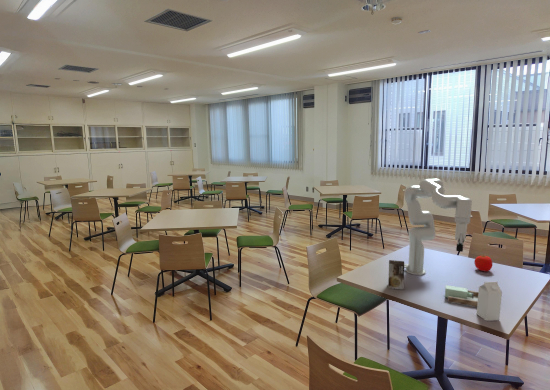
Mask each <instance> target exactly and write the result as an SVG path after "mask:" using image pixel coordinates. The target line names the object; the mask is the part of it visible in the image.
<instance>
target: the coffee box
mask: <svg viewBox="0 0 550 390" xmlns="http://www.w3.org/2000/svg"><path fill="white" fill-rule="evenodd" d="M404 264H405V261H404V260H395V259H394V260H393V259H392V260H391V259H389V261H388V281H387V288H388V289H394V288H395V290H396V289H397V290H403V291H404V288H405V286H404V285H405V268H404Z"/></svg>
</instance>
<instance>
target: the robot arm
mask: <svg viewBox="0 0 550 390" xmlns="http://www.w3.org/2000/svg"><path fill="white" fill-rule="evenodd" d="M444 194H445V188H444V182H443V181H442V180H441V179H439V178H425V179H423V180H421V181H420V182H419V185H411V186H408V187H406V188H405V190H404V194H403V195H404V201H405V203H406V206H407V213H408V214H407V215H408V220H409V224H410V225H411V226H414V227H411V228H410V229H409V230H408V241H409V247H408V250H409V251H408V263H404V269H405V271H406V273H408V274H411V275H417V276H423V275H425V274H426V270H425V268H424V263H425V262H424V261H425V245H424V244H423V243H422V242H425V241H432V240H435V238H436V227H435V221H434V215H433V214H432V213H431V211H429V210H422V207H421V206H422V205H421V203H420V202H419V200H418V199H423V198H424V199H425V198H426V199H427V198H431V200H432V203H434V205H436V206H437V207H439V208H441V209H444V210H447V209H448V210H449V209H455V214H454V223H456V224H455V231H454V232H455V235H454V239H455V241H457V243H456V248H455V251H457V252H464V242H465V241H466V236H467V231H468V225H469V224H470V223H471V215H472V214H471V213H472V204H473V200H472V199H471V198H469V197H464V196H462V195H459V194H457V195H456V194H453V195H452V194H451V195H449V194H448V195H444ZM415 226H416V227H415Z"/></svg>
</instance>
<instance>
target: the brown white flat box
mask: <svg viewBox="0 0 550 390" xmlns="http://www.w3.org/2000/svg"><path fill="white" fill-rule="evenodd" d="M467 290H468V293H474V296H473V299H472V298H470V297H467V299H463V298H457V297H451V296H448V297H447V302H448V303H452V304H458V305H463V306H468V307H473V308H477V303H478V292H479V291H475V290H469V289H467Z"/></svg>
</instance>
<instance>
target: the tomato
mask: <svg viewBox="0 0 550 390" xmlns="http://www.w3.org/2000/svg"><path fill="white" fill-rule="evenodd" d="M474 266H475V268H476V269H477V270H479V271H480V272H489V271H491V269H492V268H493V261H492V258H491V257H490V256H487V255H484V254H483V255H481V254H480V255H478V256H476V257H475V259H474Z"/></svg>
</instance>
